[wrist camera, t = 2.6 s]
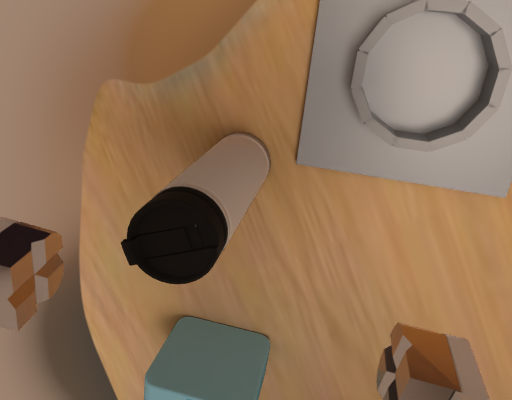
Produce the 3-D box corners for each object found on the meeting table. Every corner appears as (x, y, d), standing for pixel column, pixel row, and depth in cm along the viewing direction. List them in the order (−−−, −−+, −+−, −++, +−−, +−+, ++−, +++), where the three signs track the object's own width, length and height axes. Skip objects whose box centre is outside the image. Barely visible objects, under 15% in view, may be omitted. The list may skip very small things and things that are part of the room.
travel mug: (204, 139, 46) (105, 212, 28) (262, 126, 44) (198, 195, 26) (220, 193, 48) (138, 294, 30) (277, 182, 46) (226, 284, 28)
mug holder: (502, 194, 42) (516, 210, 38) (297, 161, 45) (292, 173, 41) (585, -41, 34) (612, -49, 30) (329, -62, 37) (327, -71, 33)
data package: (179, 340, 57) (138, 414, 46) (181, 313, 55) (139, 383, 44) (267, 363, 55) (246, 445, 45) (272, 335, 54) (251, 414, 43)
